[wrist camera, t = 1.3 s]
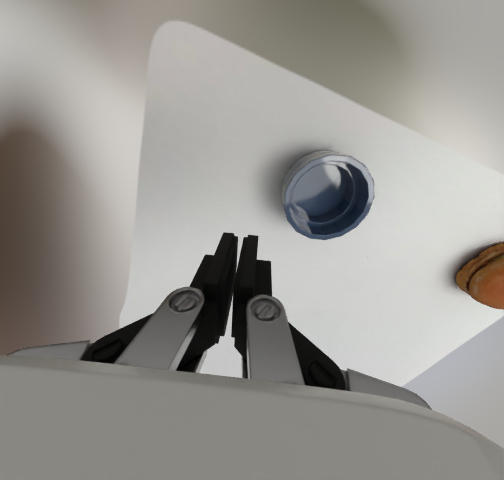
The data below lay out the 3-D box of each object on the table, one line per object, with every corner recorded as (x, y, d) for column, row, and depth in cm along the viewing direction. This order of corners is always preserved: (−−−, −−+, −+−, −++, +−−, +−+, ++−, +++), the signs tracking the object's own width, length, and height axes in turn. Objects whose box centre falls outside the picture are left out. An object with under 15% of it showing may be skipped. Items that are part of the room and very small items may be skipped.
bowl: (287, 146, 23) (292, 150, 19) (366, 154, 23) (389, 159, 19) (276, 218, 28) (278, 235, 24) (342, 225, 28) (356, 243, 23)
